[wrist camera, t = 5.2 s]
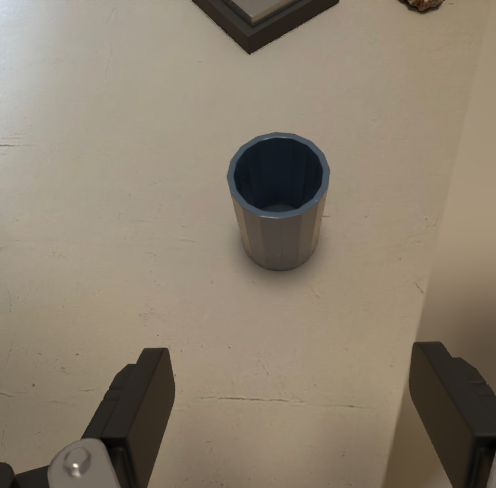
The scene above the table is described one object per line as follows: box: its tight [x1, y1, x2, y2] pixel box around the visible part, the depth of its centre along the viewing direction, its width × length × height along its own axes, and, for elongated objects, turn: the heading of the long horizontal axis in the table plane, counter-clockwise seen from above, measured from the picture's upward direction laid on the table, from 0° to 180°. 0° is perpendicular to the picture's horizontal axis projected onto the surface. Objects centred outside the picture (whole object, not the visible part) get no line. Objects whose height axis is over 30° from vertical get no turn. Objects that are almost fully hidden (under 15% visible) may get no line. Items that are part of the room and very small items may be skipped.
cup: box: [227, 132, 330, 271], centre depth 26 cm, size 6×6×9 cm
